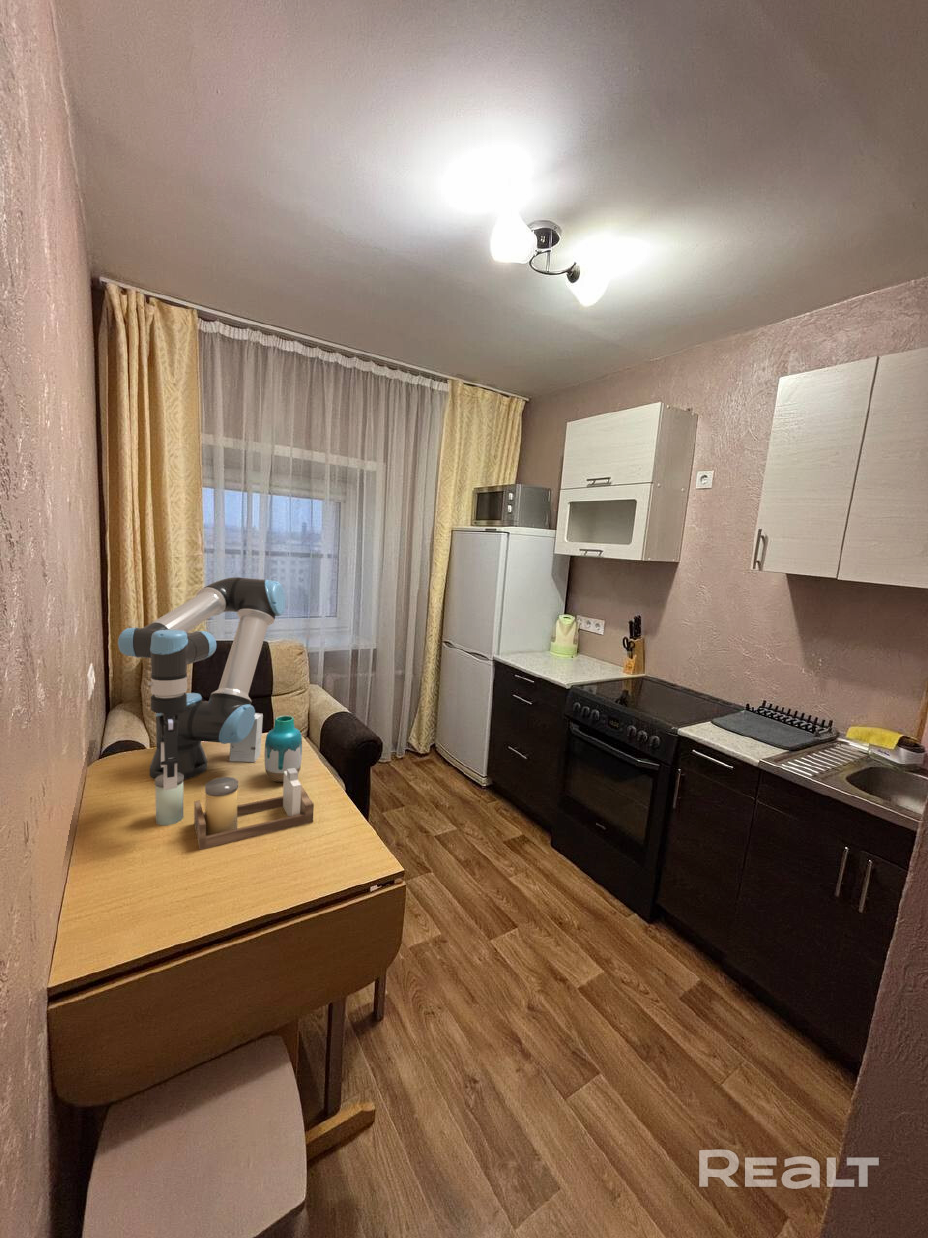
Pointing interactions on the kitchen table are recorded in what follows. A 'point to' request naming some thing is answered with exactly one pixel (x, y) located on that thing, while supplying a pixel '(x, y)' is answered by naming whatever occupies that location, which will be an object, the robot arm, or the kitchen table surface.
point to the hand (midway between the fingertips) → (168, 777)
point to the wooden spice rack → (256, 829)
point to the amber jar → (221, 805)
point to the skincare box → (248, 743)
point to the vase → (282, 748)
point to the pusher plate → (291, 792)
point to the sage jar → (169, 801)
